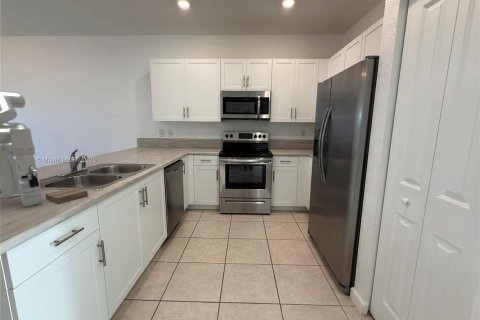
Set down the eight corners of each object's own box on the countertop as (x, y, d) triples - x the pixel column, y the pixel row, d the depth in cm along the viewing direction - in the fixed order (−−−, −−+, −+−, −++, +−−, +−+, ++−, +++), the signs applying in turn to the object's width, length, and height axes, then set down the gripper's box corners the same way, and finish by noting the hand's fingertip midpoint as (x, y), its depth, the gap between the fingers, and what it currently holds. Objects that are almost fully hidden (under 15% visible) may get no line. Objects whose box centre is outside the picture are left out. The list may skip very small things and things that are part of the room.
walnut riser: (46, 199, 119) (45, 194, 119) (75, 192, 132) (74, 187, 131) (58, 204, 113) (57, 198, 112) (87, 196, 125) (87, 191, 124)
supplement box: (21, 201, 113) (17, 178, 110) (40, 198, 119) (37, 176, 115) (23, 207, 109) (19, 183, 105) (43, 203, 114) (39, 180, 111)
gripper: (7, 153, 110) (14, 186, 112) (20, 153, 101) (27, 189, 104) (27, 151, 116) (33, 183, 119) (41, 151, 108) (47, 185, 110)
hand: (30, 186), depth 111 cm, fingers open, 9 cm apart
